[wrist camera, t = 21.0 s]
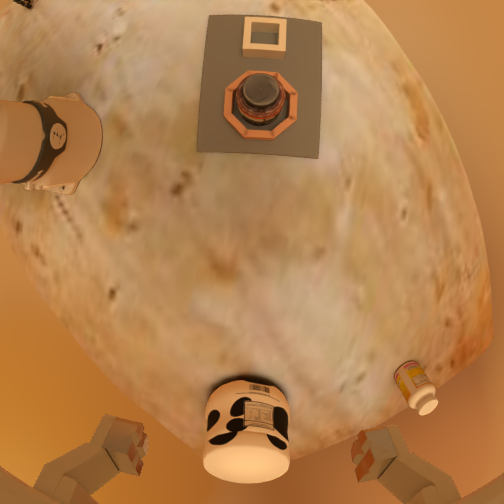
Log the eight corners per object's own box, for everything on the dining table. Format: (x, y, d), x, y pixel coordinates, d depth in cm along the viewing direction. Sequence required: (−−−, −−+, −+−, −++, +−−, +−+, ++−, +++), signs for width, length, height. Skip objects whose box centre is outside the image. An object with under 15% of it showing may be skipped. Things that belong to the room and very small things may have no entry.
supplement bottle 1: (255, 82, 36) (255, 55, 26) (288, 104, 37) (300, 84, 27) (231, 112, 38) (223, 94, 27) (263, 134, 39) (267, 123, 28)
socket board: (316, 158, 41) (323, 158, 36) (198, 151, 41) (191, 150, 36) (320, 24, 34) (326, 13, 29) (210, 17, 33) (205, 5, 29)
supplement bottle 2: (402, 384, 55) (422, 421, 43) (388, 375, 54) (409, 414, 42) (422, 366, 53) (446, 401, 41) (409, 355, 52) (435, 392, 40)
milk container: (228, 428, 59) (223, 488, 42) (194, 383, 54) (177, 450, 37) (297, 412, 57) (306, 475, 40) (272, 362, 52) (278, 435, 35)
